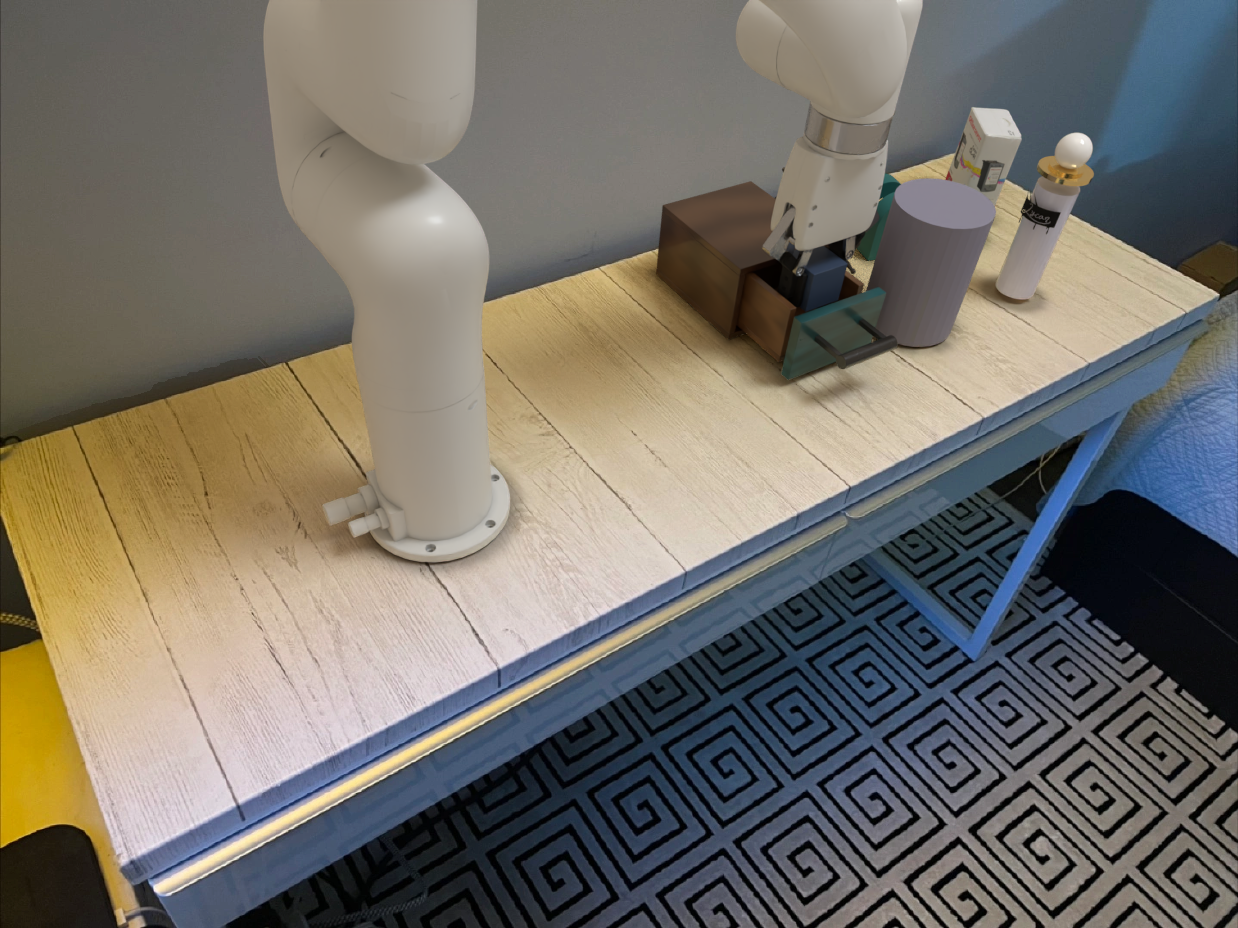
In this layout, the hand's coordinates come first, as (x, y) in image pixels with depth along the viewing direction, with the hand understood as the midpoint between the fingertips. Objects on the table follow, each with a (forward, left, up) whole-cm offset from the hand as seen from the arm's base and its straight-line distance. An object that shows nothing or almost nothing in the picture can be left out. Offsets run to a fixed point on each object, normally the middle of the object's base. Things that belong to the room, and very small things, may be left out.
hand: (808, 292), depth 96 cm
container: (+14, -3, -7) cm, 16 cm away
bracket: (+28, +10, -7) cm, 31 cm away
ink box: (+41, +13, -7) cm, 44 cm away
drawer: (0, -1, -6) cm, 6 cm away
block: (0, 0, 0) cm, 0 cm away
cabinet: (0, +11, -7) cm, 13 cm away
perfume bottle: (+30, -5, -7) cm, 31 cm away
